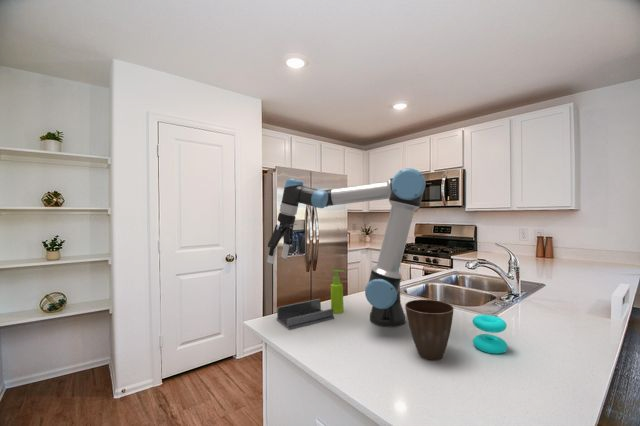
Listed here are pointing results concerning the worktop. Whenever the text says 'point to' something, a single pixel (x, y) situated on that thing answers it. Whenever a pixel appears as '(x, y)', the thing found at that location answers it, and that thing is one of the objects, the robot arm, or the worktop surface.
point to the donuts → (489, 341)
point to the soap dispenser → (337, 294)
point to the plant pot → (430, 326)
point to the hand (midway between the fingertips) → (277, 260)
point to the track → (303, 314)
